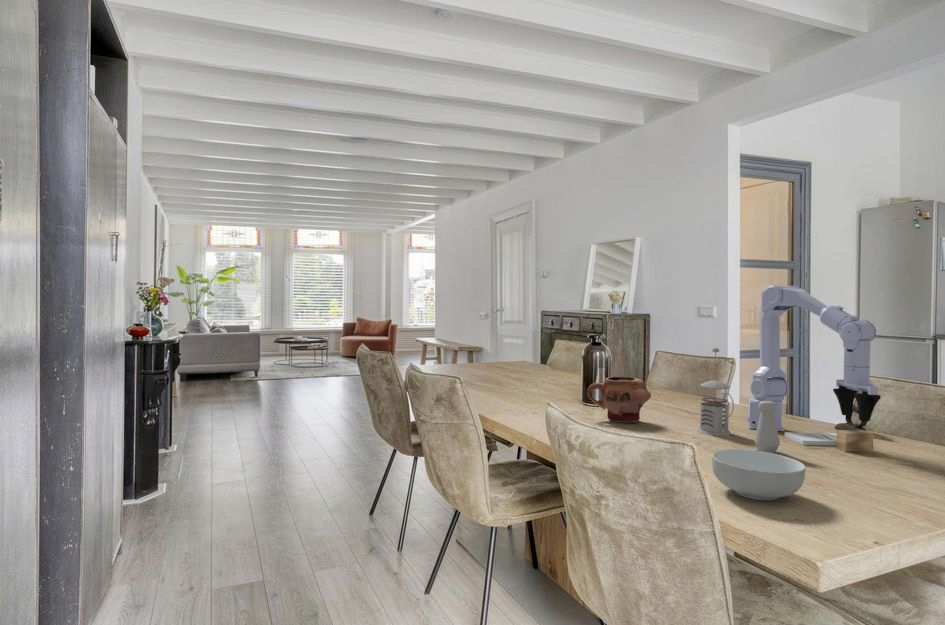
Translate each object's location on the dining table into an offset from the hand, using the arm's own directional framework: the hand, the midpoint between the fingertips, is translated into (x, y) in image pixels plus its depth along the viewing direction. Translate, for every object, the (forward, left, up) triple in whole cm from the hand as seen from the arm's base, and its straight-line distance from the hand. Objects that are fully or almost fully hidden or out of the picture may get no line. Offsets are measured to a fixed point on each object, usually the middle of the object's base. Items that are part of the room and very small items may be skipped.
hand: (855, 418), depth 154 cm
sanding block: (0, 0, -9) cm, 9 cm away
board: (-5, +8, -8) cm, 13 cm away
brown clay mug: (-63, +11, -9) cm, 64 cm away
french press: (-34, +6, -9) cm, 35 cm away
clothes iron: (+5, +25, -9) cm, 27 cm away
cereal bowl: (-27, -51, -9) cm, 58 cm away
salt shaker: (-22, -12, -9) cm, 26 cm away
